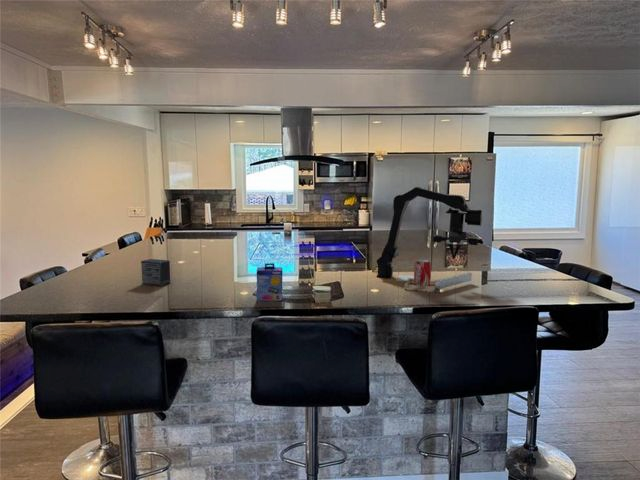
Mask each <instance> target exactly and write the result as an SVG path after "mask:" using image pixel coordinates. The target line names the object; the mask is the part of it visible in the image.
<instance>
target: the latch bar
mask: <svg viewBox="0 0 640 480" xmlns="http://www.w3.org/2000/svg"><path fill="white" fill-rule="evenodd" d="M472 275H473V274H472V272H466V273H465V272H464V273H461V274H457V275H453V276H449V277H444V278H440V279H436V280H435V279H434V280H435V285H434V289H440V290H441V289H444V288H448V287H453V286H456V285H459V284H460V285H461V284H463V283H468V282H471V281H472Z"/></svg>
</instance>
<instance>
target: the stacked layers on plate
mask: <svg viewBox="0 0 640 480" xmlns="http://www.w3.org/2000/svg"><path fill="white" fill-rule="evenodd" d="M312 288H313V289H312V290H311V291H312V293H313V294H312V297H313V298H314V299H315V301H314V302H315V303H317V304H321V303H330V302H331V301H330V300H331V299H332V297H331V294H332V292H331V290H332V288H331V286H325V285H324V286H322V285H314V286H312Z"/></svg>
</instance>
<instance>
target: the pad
mask: <svg viewBox="0 0 640 480" xmlns="http://www.w3.org/2000/svg"><path fill="white" fill-rule="evenodd" d="M408 278H414V275H409V274H398V276H397V277H396V278H395V281H397V282H405V281H407V280H408Z"/></svg>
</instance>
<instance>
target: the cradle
mask: <svg viewBox="0 0 640 480" xmlns="http://www.w3.org/2000/svg"><path fill="white" fill-rule="evenodd" d="M403 288H404V289H407V290H406V291H415V290H417V292H425V291H427V292H426V293H435V294H441V289H435V279H431V281H430V287H429V286H418V285H414V278H408V280H407V281H406V282H405V283H404V287H403Z"/></svg>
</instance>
